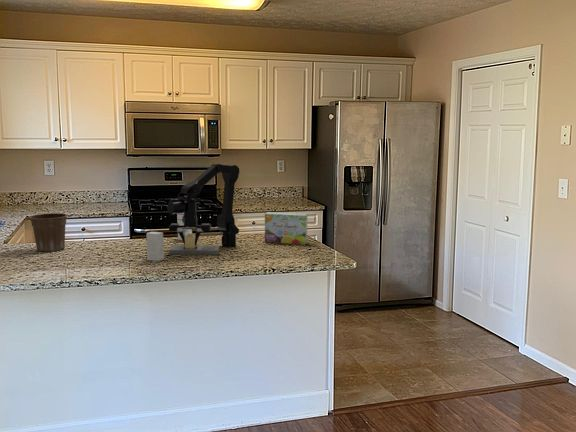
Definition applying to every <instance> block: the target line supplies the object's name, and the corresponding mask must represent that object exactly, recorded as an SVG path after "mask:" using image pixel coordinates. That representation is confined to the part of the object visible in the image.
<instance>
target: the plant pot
mask: <svg viewBox="0 0 576 432" xmlns="http://www.w3.org/2000/svg"><path fill="white" fill-rule="evenodd" d="M67 217H68V214H66V213H61V212H59V213H58V212H57V213H55V212H52V213H38V214H34V215H30V216H29V219H30V222H31V227H32V229H33V234H34V240H35V247H36V251H37V252H39V253H40V252H43V253H54V252H59V251H61V250H64V249H65V247H66V246H65V245H66V243H65V242H66V224H67Z"/></svg>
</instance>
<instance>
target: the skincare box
mask: <svg viewBox="0 0 576 432" xmlns="http://www.w3.org/2000/svg"><path fill="white" fill-rule="evenodd" d="M164 247H165V245H164V232H162V231H161V232H159V231H150V232H147V233H146V254H147V256H146V258H147V259H146V260H147V261H155V262H160V261H163V260H165V251H164Z"/></svg>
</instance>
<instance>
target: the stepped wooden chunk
mask: <svg viewBox="0 0 576 432" xmlns="http://www.w3.org/2000/svg"><path fill="white" fill-rule="evenodd" d="M195 237H196V234H194V233H192V234H188V235H186V236H185V249H196V246H195Z"/></svg>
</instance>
